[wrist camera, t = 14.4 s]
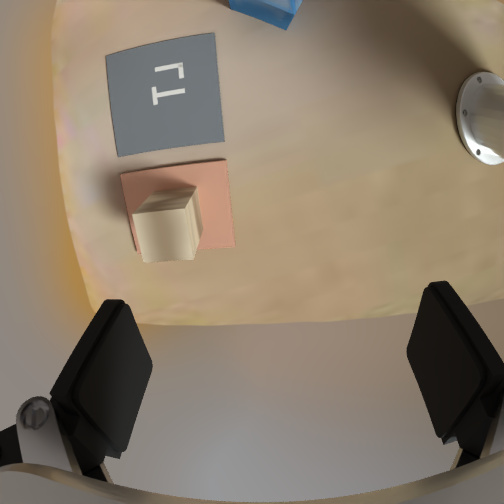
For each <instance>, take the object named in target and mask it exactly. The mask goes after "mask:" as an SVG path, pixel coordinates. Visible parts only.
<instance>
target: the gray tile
mask: <svg viewBox="0 0 504 504" xmlns="http://www.w3.org/2000/svg"><path fill="white" fill-rule="evenodd" d="M106 62H107V74H108V85H109V95H110V103H111V111H112V119H113V126H114V133H115V140H116V146H117V152H118V157H121V156H127V155H132V154H138V153H143V152H149V151H156V150H162V149H169V148H175V147H183V146H190V145H198V144H207V143H216V142H225V140H224V130H223V120H222V109H221V99H220V88H219V77H218V66H217V54H216V42H215V33H210V34H203V35H196V36H189V37H184V38H178V39H173V40H167V41H163V42H158V43H153V44H149V45H145V46H141V47H137V48H133V49H129V50H125V51H122V52H118V53H115V54H111V55H108V56H106Z"/></svg>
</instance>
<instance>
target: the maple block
mask: <svg viewBox="0 0 504 504" xmlns="http://www.w3.org/2000/svg"><path fill="white" fill-rule="evenodd" d="M132 216H133V221H134V225H135V229H136V234H137V238H138V242H139V246H140V250H141V254H142V258H143V262H144V263H148V262H162V261H177V260H192V259H194V256H195V253H196V250H197V247H198V244H199V241H200V238H201V235H202V232H203V224H202V217H201V210H200V203H199V196H198V189H197V187H189V188H180V189H171V190H163V191H155V192H153V193H152V194H151V195H150V196H149V197H148V198H147V199H146V200H145V201H144V202H143V203H142V204H141V205H140V206H139V207H138V208H137V209H136V211H135V212H134V213H133V214H132Z"/></svg>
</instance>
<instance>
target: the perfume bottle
mask: <svg viewBox="0 0 504 504" xmlns="http://www.w3.org/2000/svg"><path fill="white" fill-rule="evenodd" d="M302 1H303V0H229V4H230V9H232V10H235V11H238V12H241V13H244V14H246V15H249V16H252V17H254V18H257V19H260V20H262V21H265V22H267V23H270V24H272V25H275V26H277V27H279V28H282V29H284V30H287V28H288V26H289V24H290V22H291V21H292V19H293V17H294V15H295V13H296V12H297V10H298V8H299V6H300V4H301V3H302Z"/></svg>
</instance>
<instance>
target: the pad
mask: <svg viewBox="0 0 504 504" xmlns="http://www.w3.org/2000/svg"><path fill="white" fill-rule="evenodd" d="M120 177H121V182H122V187H123V192H124V197H125V202H126V207H127V211H128V215H129V220H130V224H131V228H132V233H133V237H134V241H135V245H136V248H137V252H138V254H141V250H140V246H139V242H138V238H137V234H136V229H135V225H134V221H133V216H132V214H133V213H134V212H135V211H136V209H137V208H138V207H139V206H140V205H141V204H142V203H143V202H144V201H145V200H146V199H147V198H148V197H149V196H150V195H151V194H152V193H153V192H155V191H163V190H171V189H180V188H189V187H197V189H198V196H199V203H200V210H201V217H202V224H203V232H202V235H201V238H200V241H199V244H198V247H197V250H200V249H213V248H226V247H235V236H234V227H233V217H232V208H231V199H230V189H229V180H228V170H227V160H218V161H209V162H200V163H191V164H183V165H175V166H168V167H161V168H154V169H147V170H141V171H135V172H129V173H123V174H121V175H120Z"/></svg>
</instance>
